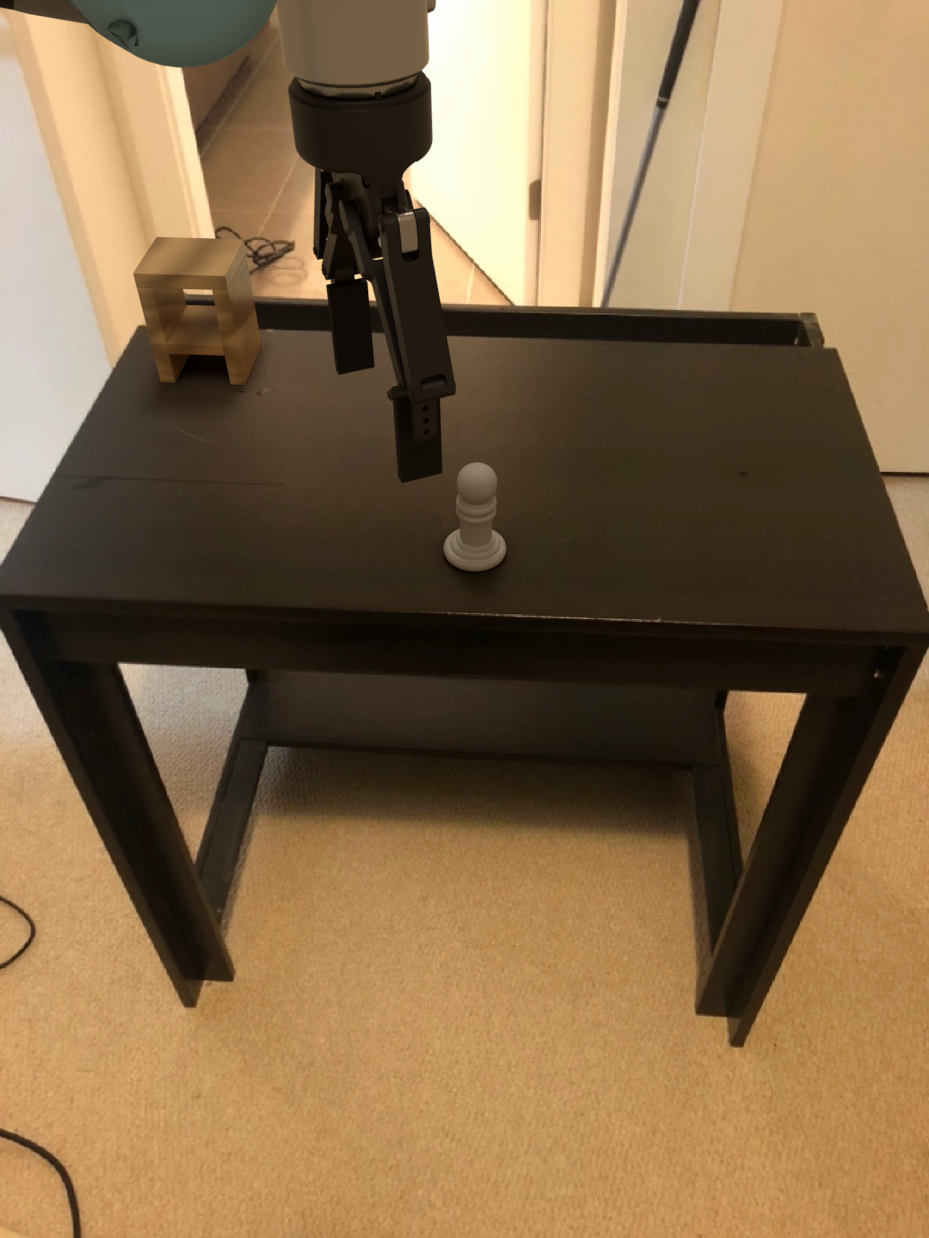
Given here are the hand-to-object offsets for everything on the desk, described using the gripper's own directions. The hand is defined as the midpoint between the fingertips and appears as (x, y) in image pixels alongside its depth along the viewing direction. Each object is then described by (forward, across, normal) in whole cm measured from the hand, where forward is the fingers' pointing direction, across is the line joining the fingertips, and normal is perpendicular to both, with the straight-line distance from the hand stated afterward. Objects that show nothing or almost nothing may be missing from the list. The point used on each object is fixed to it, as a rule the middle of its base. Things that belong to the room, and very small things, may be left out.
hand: (385, 418), depth 66 cm
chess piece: (+18, +4, -8) cm, 20 cm away
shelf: (+18, +43, +6) cm, 47 cm away
